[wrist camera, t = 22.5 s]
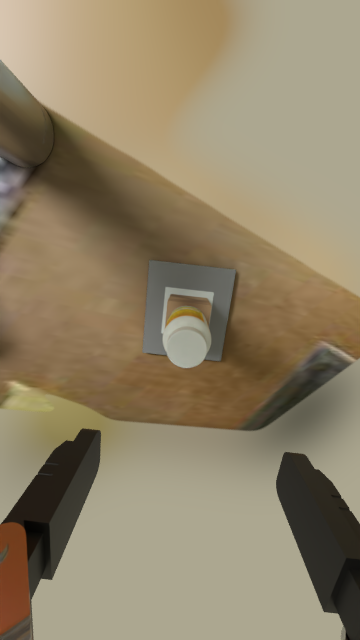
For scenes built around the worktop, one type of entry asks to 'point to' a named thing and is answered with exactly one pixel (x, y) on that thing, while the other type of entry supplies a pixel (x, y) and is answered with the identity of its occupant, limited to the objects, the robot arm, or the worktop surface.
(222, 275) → the grey flat plate
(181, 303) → the tan wooden block
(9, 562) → the robot arm
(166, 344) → the supplement bottle
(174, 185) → the worktop surface
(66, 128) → the worktop surface
